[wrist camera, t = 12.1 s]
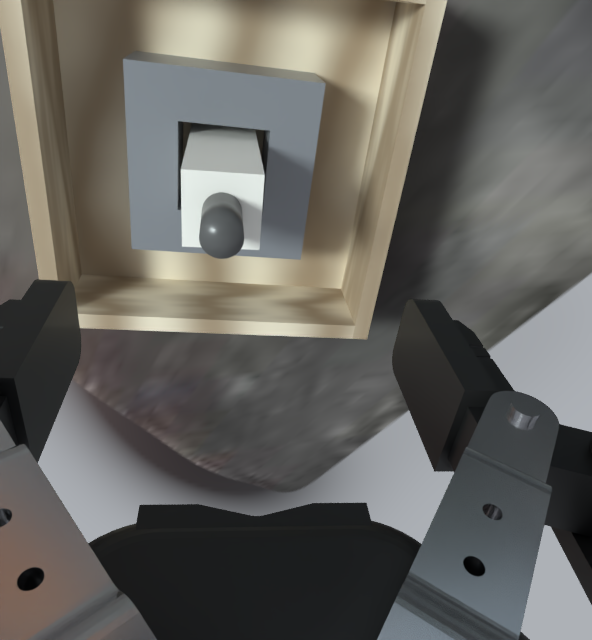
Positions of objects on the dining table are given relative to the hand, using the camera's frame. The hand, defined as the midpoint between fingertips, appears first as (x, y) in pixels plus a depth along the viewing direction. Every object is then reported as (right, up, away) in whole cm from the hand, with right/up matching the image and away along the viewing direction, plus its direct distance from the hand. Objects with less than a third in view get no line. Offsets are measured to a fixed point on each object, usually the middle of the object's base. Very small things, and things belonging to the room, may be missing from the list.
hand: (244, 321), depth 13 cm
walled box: (-3, +11, +20) cm, 23 cm away
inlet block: (-3, +10, +19) cm, 22 cm away
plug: (-3, +10, +19) cm, 22 cm away
